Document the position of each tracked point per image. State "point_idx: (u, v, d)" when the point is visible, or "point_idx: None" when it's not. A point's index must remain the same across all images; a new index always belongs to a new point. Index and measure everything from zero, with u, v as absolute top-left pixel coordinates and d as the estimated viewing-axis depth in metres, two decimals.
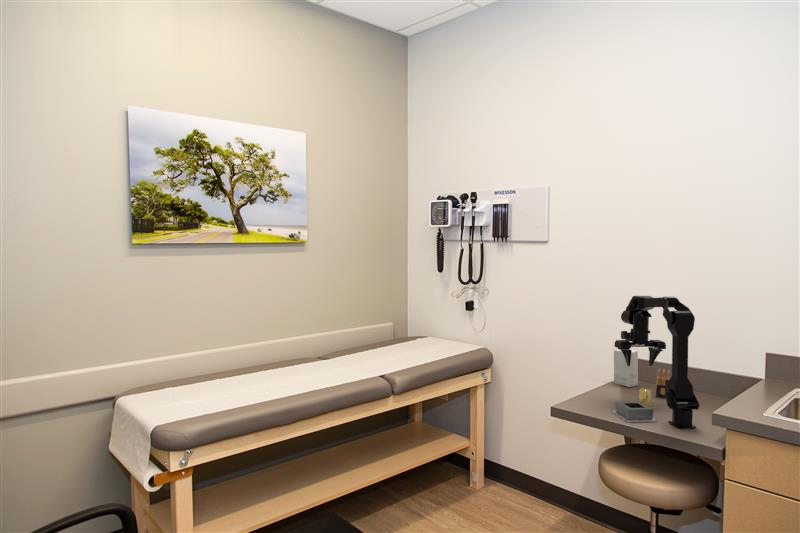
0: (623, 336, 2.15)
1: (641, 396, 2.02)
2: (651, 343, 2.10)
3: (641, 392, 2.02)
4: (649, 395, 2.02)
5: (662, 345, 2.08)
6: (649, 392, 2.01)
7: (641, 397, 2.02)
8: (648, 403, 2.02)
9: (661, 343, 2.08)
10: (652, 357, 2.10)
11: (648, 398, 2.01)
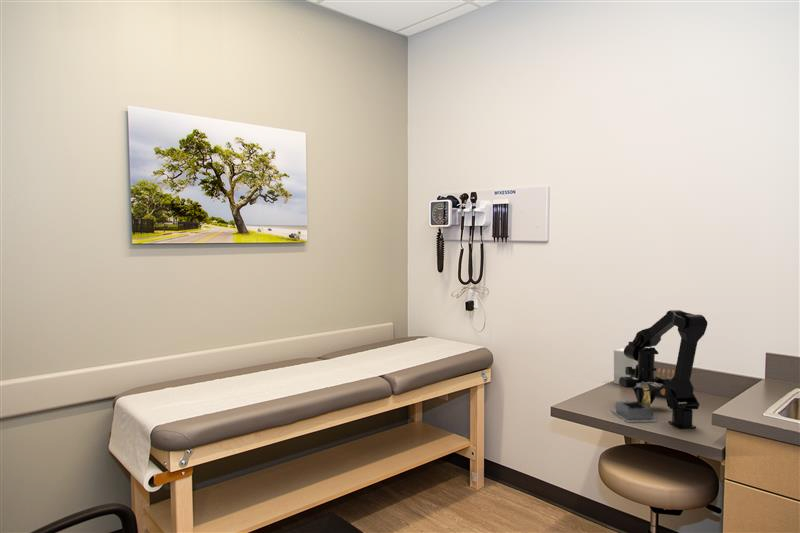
0: (628, 372, 2.08)
1: None
2: (657, 380, 2.03)
3: None
4: (649, 395, 2.02)
5: None
6: (649, 392, 2.01)
7: None
8: (648, 403, 2.02)
9: None
10: (652, 395, 2.02)
11: (648, 398, 2.01)
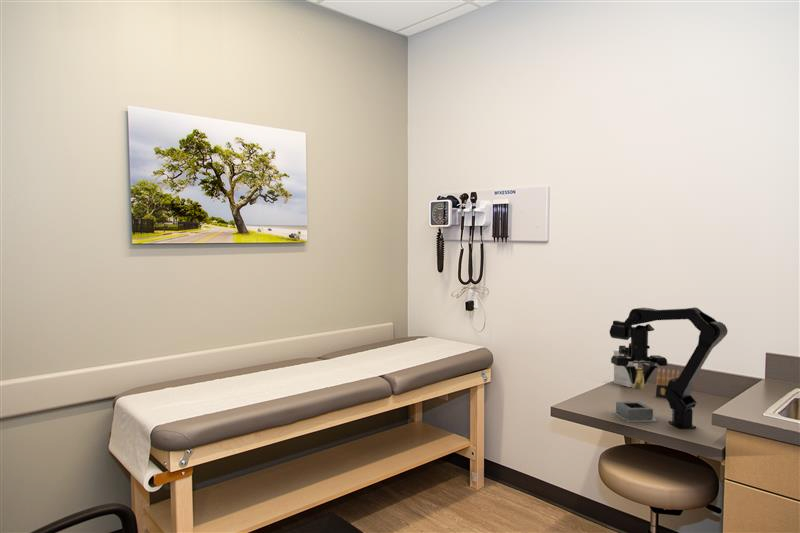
0: (621, 351, 2.00)
1: None
2: (651, 359, 1.95)
3: None
4: (642, 374, 1.94)
5: (663, 361, 1.92)
6: (642, 371, 1.94)
7: None
8: (641, 382, 1.94)
9: (662, 359, 1.93)
10: (646, 374, 1.94)
11: (641, 377, 1.94)
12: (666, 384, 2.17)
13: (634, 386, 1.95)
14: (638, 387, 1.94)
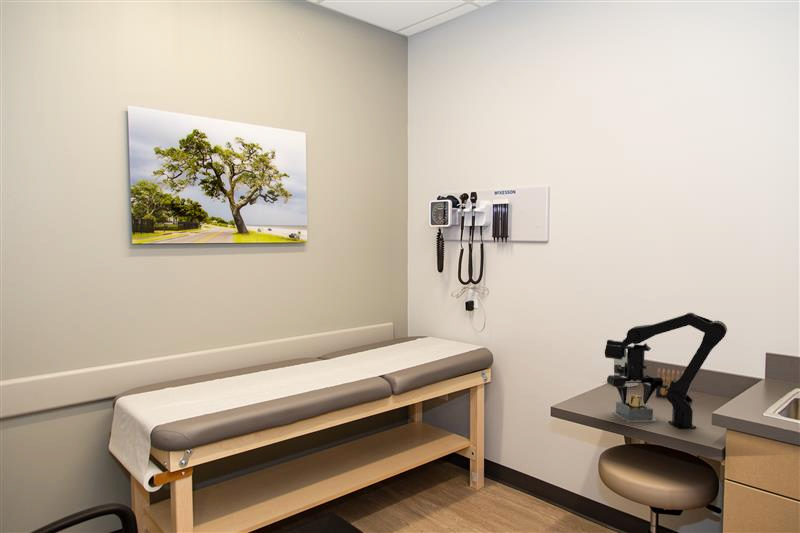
0: (616, 371, 1.97)
1: (631, 402, 1.91)
2: (647, 379, 1.92)
3: (631, 399, 1.91)
4: (639, 402, 1.90)
5: (659, 382, 1.90)
6: (640, 399, 1.90)
7: (631, 404, 1.91)
8: None
9: (658, 379, 1.90)
10: (646, 394, 1.92)
11: (638, 405, 1.90)
12: (666, 384, 2.17)
13: None
14: None
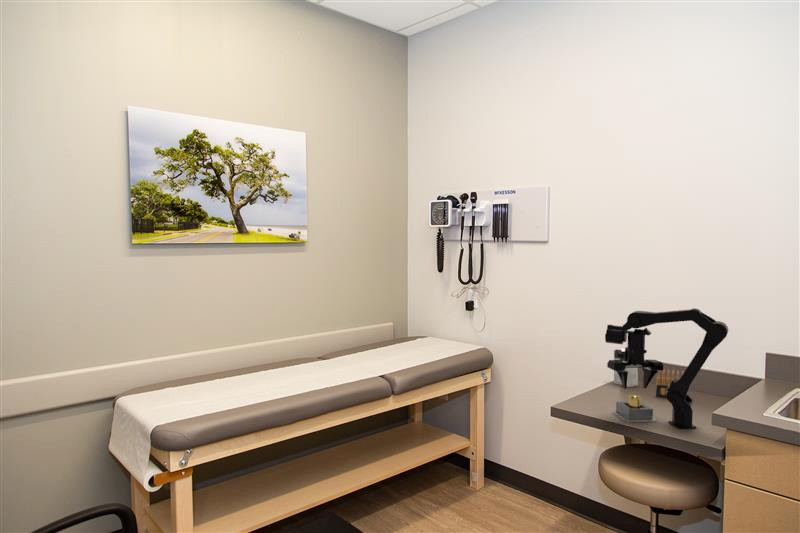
0: (617, 355, 1.97)
1: (630, 402, 1.92)
2: (647, 363, 1.92)
3: (630, 398, 1.92)
4: (639, 401, 1.91)
5: (659, 366, 1.89)
6: (639, 398, 1.91)
7: (630, 404, 1.92)
8: None
9: (658, 364, 1.90)
10: (646, 379, 1.91)
11: (638, 404, 1.91)
12: (666, 384, 2.17)
13: None
14: None
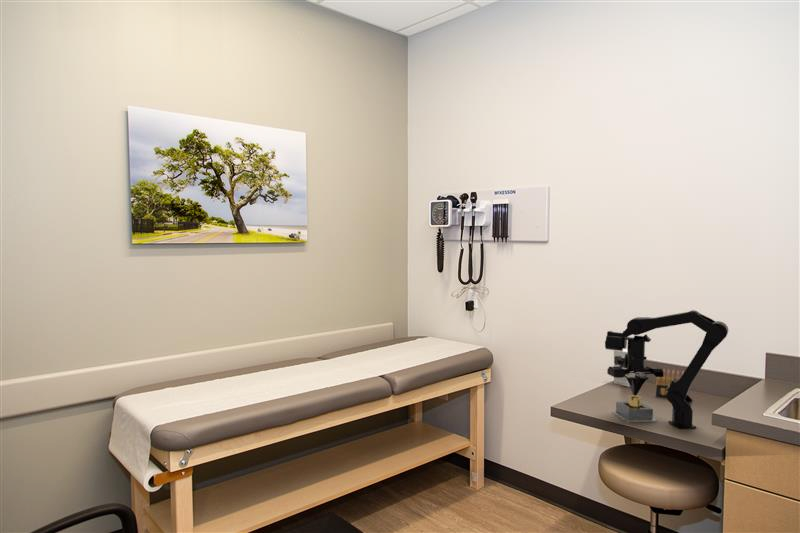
0: (617, 362, 1.97)
1: (630, 402, 1.92)
2: (647, 370, 1.92)
3: (630, 399, 1.92)
4: (639, 402, 1.91)
5: (659, 373, 1.90)
6: (639, 399, 1.91)
7: (630, 404, 1.92)
8: None
9: (658, 370, 1.90)
10: (637, 386, 1.91)
11: (638, 404, 1.91)
12: (666, 384, 2.17)
13: None
14: None
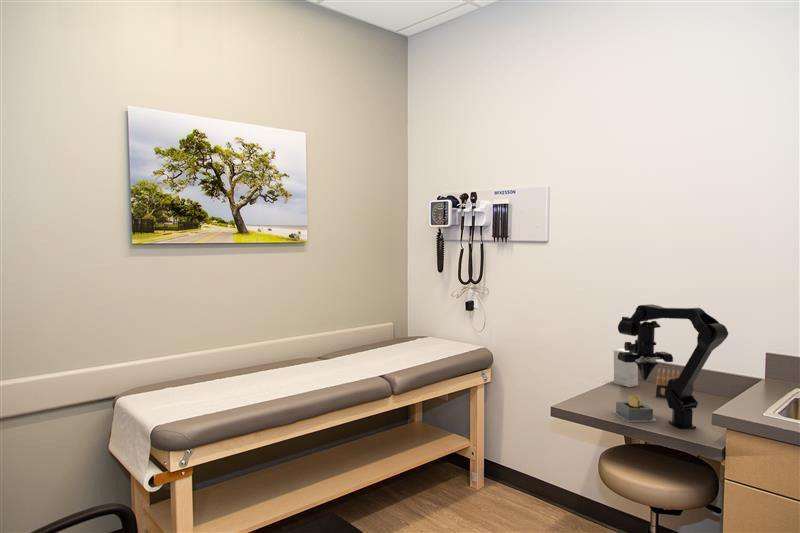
0: (627, 348, 2.01)
1: (630, 402, 1.91)
2: (657, 355, 1.96)
3: (630, 399, 1.92)
4: (639, 402, 1.91)
5: (669, 358, 1.94)
6: (639, 399, 1.91)
7: (630, 404, 1.92)
8: None
9: (668, 356, 1.94)
10: None
11: (638, 404, 1.91)
12: (666, 384, 2.17)
13: None
14: None
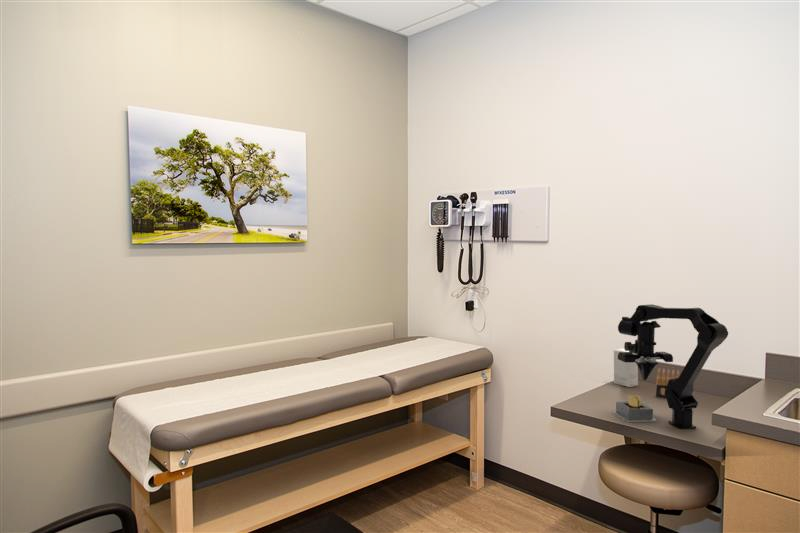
0: (627, 348, 2.01)
1: (630, 402, 1.91)
2: (657, 355, 1.96)
3: (630, 399, 1.92)
4: (639, 402, 1.91)
5: (669, 358, 1.94)
6: (639, 398, 1.91)
7: (630, 404, 1.92)
8: None
9: (668, 356, 1.94)
10: (647, 371, 1.95)
11: (638, 404, 1.91)
12: (666, 384, 2.17)
13: None
14: None
